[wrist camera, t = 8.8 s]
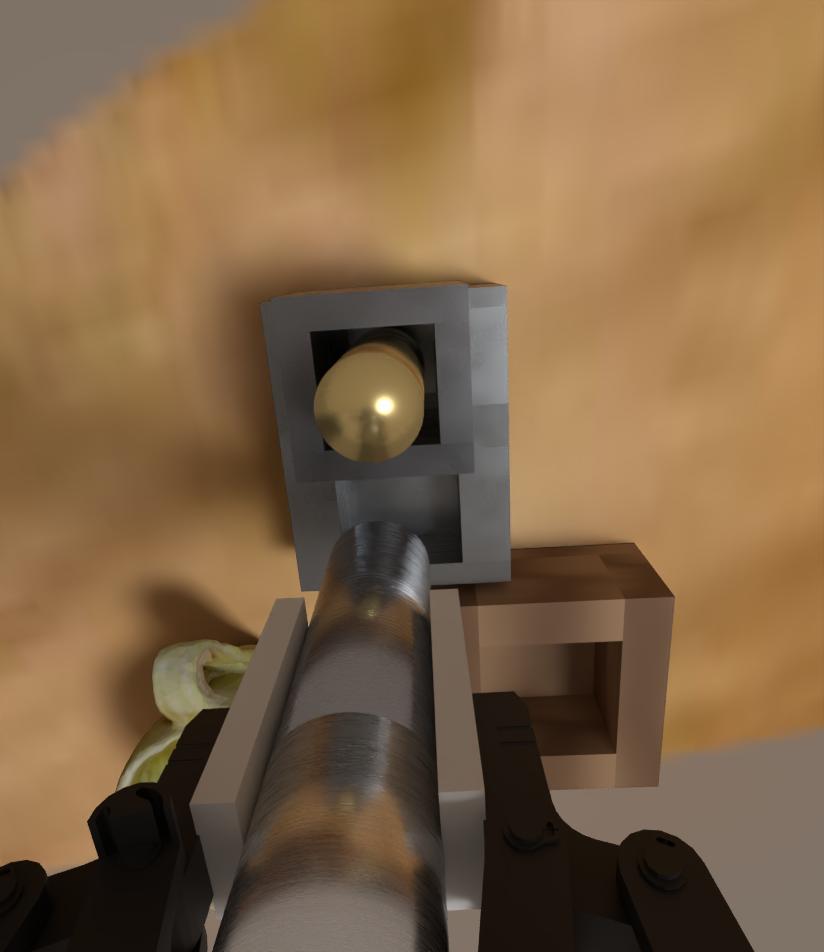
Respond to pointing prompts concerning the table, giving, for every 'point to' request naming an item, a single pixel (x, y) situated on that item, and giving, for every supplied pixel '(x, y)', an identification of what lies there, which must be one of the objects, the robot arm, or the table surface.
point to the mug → (185, 699)
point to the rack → (578, 658)
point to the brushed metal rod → (352, 772)
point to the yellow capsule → (373, 397)
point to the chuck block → (437, 444)
